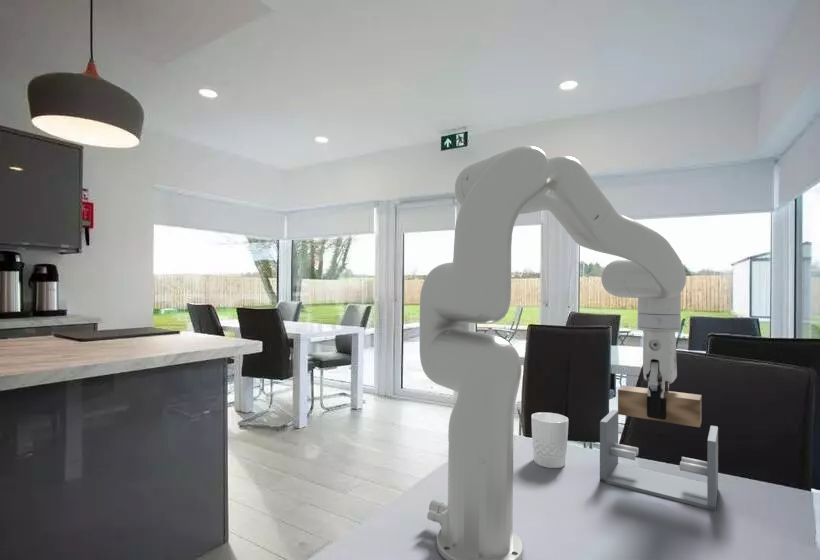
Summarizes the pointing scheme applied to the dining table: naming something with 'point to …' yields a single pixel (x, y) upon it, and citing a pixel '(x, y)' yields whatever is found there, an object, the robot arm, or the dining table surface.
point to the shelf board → (677, 405)
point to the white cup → (549, 439)
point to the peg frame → (657, 481)
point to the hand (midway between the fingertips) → (658, 413)
